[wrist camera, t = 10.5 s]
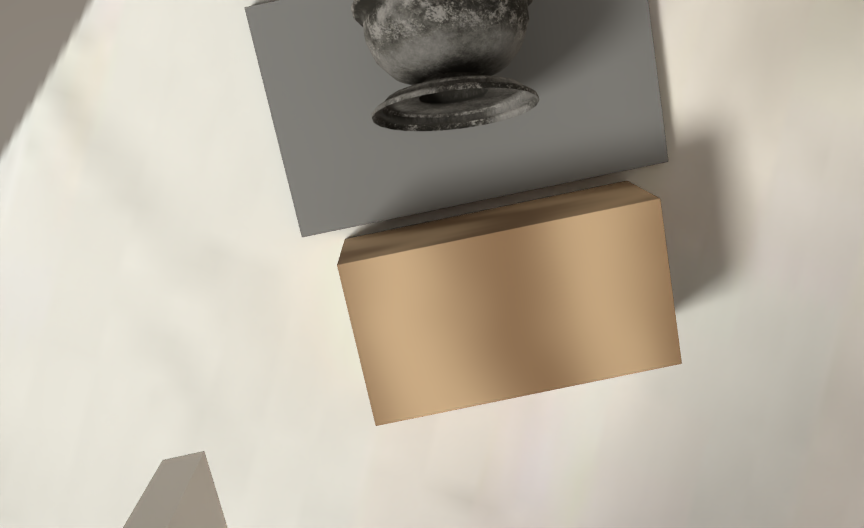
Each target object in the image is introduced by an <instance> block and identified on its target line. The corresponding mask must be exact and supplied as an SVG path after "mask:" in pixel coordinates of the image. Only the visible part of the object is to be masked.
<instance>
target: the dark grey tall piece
mask: <svg viewBox="0 0 864 528" xmlns="http://www.w3.org/2000/svg"><path fill="white" fill-rule="evenodd" d="M532 2H533V0H354V1H353V3H352V5H351V11H352V15H353V18H354V19H355V20H356V21H357V22H358V23H359V24H360V25H361V26H362V27H363V28H364V37H365V41H366V44H367V46H368V48H369V50H370V52H371V54H372V56H373V57H374V59H375V61H376V63H377V64H378V65H379V66H380V67H381V68H382V69H383V70H385V71H386V72H387V73H388V74H389V75H391V76H392V77H393V78H394V79H395V80H396V81H399V82H401V83H404V84H409V85H411V86H408V87H406V88H403V89H401V90H398V91H396V92H395V93H393V94H391V95H390V96H388V98H387V99H386V100H385V101H384V102H383V103H381V104H379V105H378V106H377V107H376V108H375V110H374V111H373V112H372V120H373V123H375V124H377V125H378V126H380V127H384V128H388V129H392V130H401V131H443V130H453V129H462V128H469V127H475V126H481V125H486V124H490V123H495V122H499V121H503V120H506V119H509V118H513V117H516V116H518V115H521V114H523V113H525V112H528V111H529V110H531V109H532V108H534V107H535V106H536V105H537V104H538V102H539V96H538V94H537V92H536V91H535V90H533V89H531V88H529V87H527V86H525V85H523V84H521V83H520V82H518V81H516V80H514V79H511V78H506V77H501V76H492V75H494V74H496V73H498V72H500V71H502V70H504V69H505V68H506V67H507V66H508V65H509V64H510V62H511V61H512V60H513V59H514V57H515V56H516V55H517V53H518V52H519V51H520V49H521V47H522V44H523V41H524V37H525V33H526V30H527V26H528V22H529V12H528V6H529V5H530V4H531V3H532Z"/></svg>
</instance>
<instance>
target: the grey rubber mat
mask: <svg viewBox="0 0 864 528" xmlns="http://www.w3.org/2000/svg"><path fill="white" fill-rule="evenodd" d="M353 1H354V0H278V1H273V2H268V3H263V4H259V5H254V6H249V7H244V8H245V12H246V16H247V20H248V24H249V28H250V32H251V36H252V40H253V44H254V48H255V52H256V56H257V60H258V64H259V68H260V72H261V76H262V80H263V84H264V88H265V92H266V96H267V100H268V104H269V108H270V112H271V116H272V120H273V124H274V128H275V132H276V136H277V140H278V144H279V148H280V152H281V156H282V160H283V164H284V168H285V172H286V175H287V179H288V183H289V187H290V191H291V195H292V199H293V203H294V207H295V211H296V215H297V219H298V223H299V227H300V231H301V235H302V237H306V236H311V235H316V234H321V233H326V232H330V231H335V230H340V229H345V228H350V227H355V226H359V225H364V224H369V223H374V222H379V221H384V220H388V219H393V218H398V217H403V216H408V215H413V214H417V213H422V212H427V211H432V210H437V209H442V208H446V207H451V206H456V205H461V204H466V203H471V202H475V201H480V200H485V199H490V198H495V197H500V196H504V195H509V194H514V193H519V192H524V191H529V190H533V189H538V188H543V187H548V186H553V185H558V184H562V183H567V182H572V181H577V180H582V179H587V178H591V177H596V176H601V175H606V174H611V173H615V172H620V171H625V170H630V169H635V168H640V167H644V166H649V165H654V164H659V163H664V162H668V154H667V146H666V138H665V131H664V123H663V115H662V107H661V99H660V91H659V83H658V76H657V68H656V60H655V52H654V44H653V36H652V28H651V20H650V13H649V5H648V0H533V2H532V3H531V4H530V5H529V6H528V12H529V22H528V26H527V30H526V33H525V37H524V41H523V44H522V47H521V49H520V51H519V52H518V53H517V55H516V56H515V57H514V59H513V60H512V61H511V62H510V64H509V65H508V66H507V67H506V68H505V69H504V70H502V71H500V72H498V73H496V74H494V75H492V76H501V77H506V78H511V79H514V80H516V81H518V82H520V83H521V84H523V85H525V86H527V87H529V88H531V89H533V90H535V91H536V92H537V94H538V96H539V102H538V104H537V105H536V106H535V107H534V108H532V109H531V110H529V111H528V112H525V113H523V114H521V115H518V116H516V117H513V118H509V119H506V120H503V121H499V122H495V123H490V124H486V125H481V126H475V127H469V128H462V129H453V130H443V131H401V130H392V129H388V128H384V127H380V126H378V125H377V124H375V123H373V120H372V112H373V111H374V110H375V108H376V107H377V106H378V105H379V104H381V103H383V102H384V101H385V100H386V99H387V98H388V96H390V95H391V94H393V93H395V92H396V91H398V90H401V89H403V88H406V87H408V86H411V85H409V84H404V83H401V82H399V81H396V80H395V79H394V78H393V77H392V76H391V75H389V74H388V73H387V72H386V71H385V70H383V69H382V68H381V67H380V66H379V65H378V64H377V63H376V61H375V59H374V57H373V56H372V54H371V52H370V50H369V48H368V46H367V44H366V41H365V37H364V28H363V27H362V26H361V25H360V24H359V23H358V22H357V21H356V20H355V19H354V18H353V15H352V11H351V5H352V3H353Z"/></svg>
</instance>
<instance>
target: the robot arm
mask: <svg viewBox="0 0 864 528" xmlns="http://www.w3.org/2000/svg"><path fill="white" fill-rule="evenodd" d="M123 528H227V525H226V521H225V518H224V515H223V511H222V508H221V505H220V501H219V498H218V495H217V491H216V488H215V485H214V482H213V478H212V475H211V472H210V468H209V465H208V462H207V458H206V455H205V452H204V451H202V452H198V453H193V454H188V455H184V456H179V457H175V458H170V459H165V460H162V462H161V464H160V466H159V467H158V469H157V471H156V472H155V474H154V476H153V477H152V479H151V481H150V483H149V484H148V486H147V488H146V489H145V491H144V493H143V495H142V496H141V498H140V500H139V501H138V503H137V505H136V507H135V508H134V510H133V512H132V513H131V515H130V517H129V518H128V520H127V522H126V524H125V525H124V527H123Z"/></svg>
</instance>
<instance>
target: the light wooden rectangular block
mask: <svg viewBox="0 0 864 528" xmlns="http://www.w3.org/2000/svg"><path fill="white" fill-rule="evenodd" d="M337 267H338V271H339V275H340V279H341V283H342V288H343V292H344V296H345V300H346V304H347V308H348V312H349V317H350V321H351V325H352V329H353V333H354V337H355V342H356V346H357V350H358V354H359V358H360V362H361V366H362V371H363V375H364V379H365V383H366V387H367V391H368V396H369V400H370V404H371V408H372V412H373V416H374V420H375V425H376V426H378V425H383V424H388V423H393V422H398V421H403V420H408V419H413V418H418V417H423V416H427V415H432V414H437V413H442V412H447V411H452V410H457V409H462V408H467V407H472V406H476V405H481V404H486V403H491V402H496V401H501V400H506V399H511V398H516V397H521V396H525V395H530V394H535V393H540V392H545V391H550V390H555V389H560V388H565V387H570V386H574V385H579V384H584V383H589V382H594V381H599V380H604V379H609V378H614V377H619V376H623V375H628V374H633V373H638V372H643V371H648V370H653V369H658V368H663V367H668V366H673V365H677V364H682V361H681V353H680V346H679V338H678V331H677V323H676V315H675V308H674V300H673V292H672V285H671V277H670V270H669V262H668V254H667V247H666V239H665V231H664V224H663V216H662V209H661V201H660V198H658V197H656V196H655V195H653V194H651V193H649V192H647V191H645V190H643V189H642V188H640V187H638V186H636V185H634V184H632V183H630V182H629V181H624V182H619V183H614V184H609V185H604V186H599V187H595V188H590V189H585V190H580V191H575V192H570V193H566V194H561V195H556V196H551V197H546V198H541V199H537V200H532V201H527V202H522V203H517V204H512V205H508V206H503V207H498V208H493V209H488V210H483V211H479V212H474V213H469V214H464V215H459V216H454V217H450V218H445V219H440V220H435V221H430V222H425V223H421V224H416V225H411V226H406V227H401V228H396V229H392V230H387V231H382V232H377V233H372V234H367V235H362V236H358V237H353V238H348V239H345V241H344V244H343V247H342V251H341V254H340V257H339V261H338V264H337Z"/></svg>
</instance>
